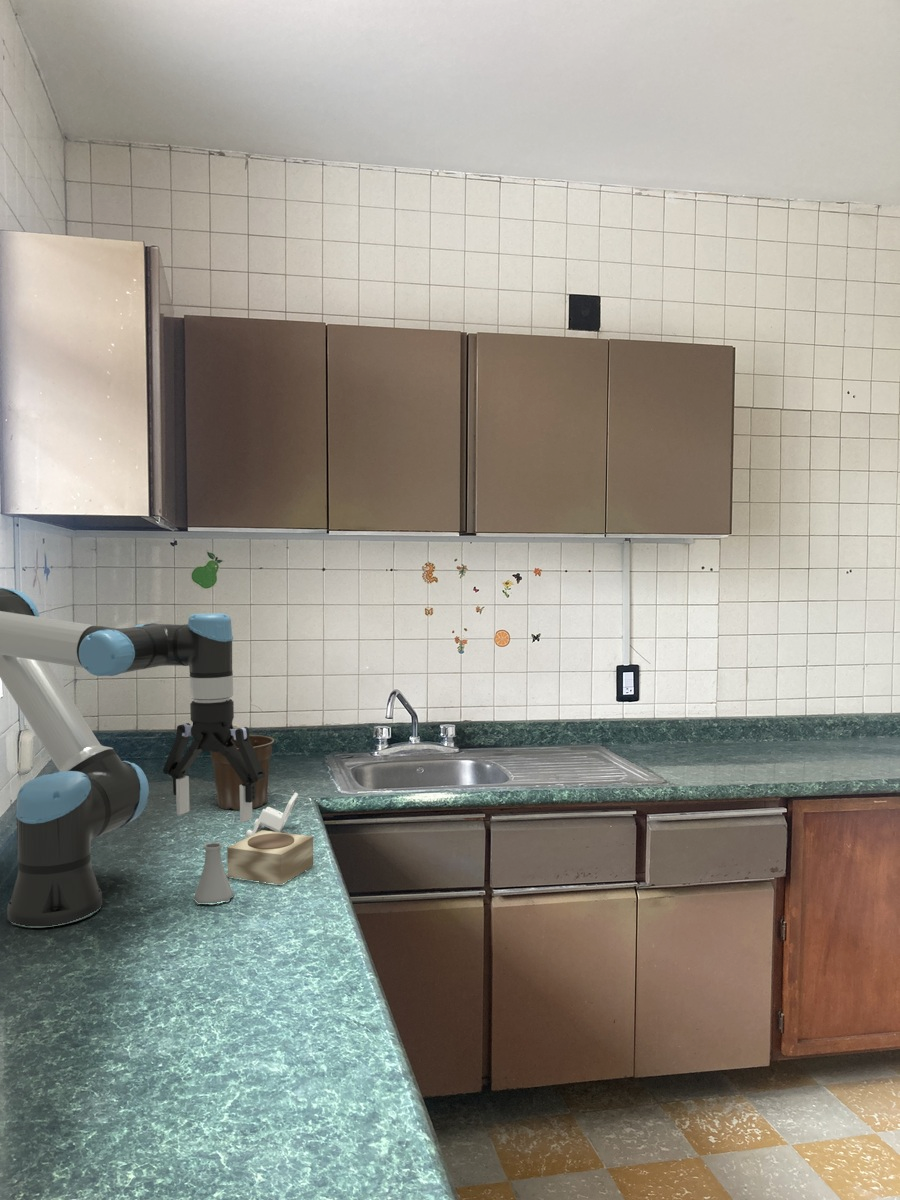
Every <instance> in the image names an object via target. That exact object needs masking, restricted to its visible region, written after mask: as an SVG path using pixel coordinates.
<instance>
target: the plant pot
mask: <svg viewBox="0 0 900 1200" xmlns="http://www.w3.org/2000/svg"><path fill="white" fill-rule="evenodd" d="M249 737H250V741H251V743H252V746H253V748H254V750H255V752H256V755H257V757H258V759H259V762H260V764H261V766H262V769H263V771H264V773H265V778H264V779H262V780H260V781H258V782H256V784H255V793H256V798H255V801H253V802H252V810H253V809H255V808H259V807H262V806H264V805H265V804H266V803H267V802H268V788H269V787H268V786H269V774H270V761H271V756H272V753H273V752H272V751H273V750H272V749H273V744H274V742H275V739H274V738H273V737H271V736H266V735H261V734H260V735H259V734H249ZM232 740H233V742H234V743H235V745H236V746H237V742H236V740H234V736H233V738H232ZM226 748H228V746H227V747H226ZM237 750H238V752H239V753H240V750H239V748H238V746H237ZM209 752H210V759H211V761H212V767H213V773H214V781H215V782H214V783H215V791H216V792H215V793H216V799H217V806H218V807H219V808H220V807H221V808H220V809H223V810H227V809H228V810H230V809H233V810H234V811H240V786H239V785H241V784H243V782H242V780H241V779H240V777H239V776H238V774H237V773H236V772H235V770H234V769H233V767H232V766H231V764H230V763H229V761H228V760H227V759H226V757H225V756H224V755H222V754H221V753H220V752H212V751H209ZM240 755H241V753H240ZM241 756H242V755H241Z"/></svg>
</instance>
